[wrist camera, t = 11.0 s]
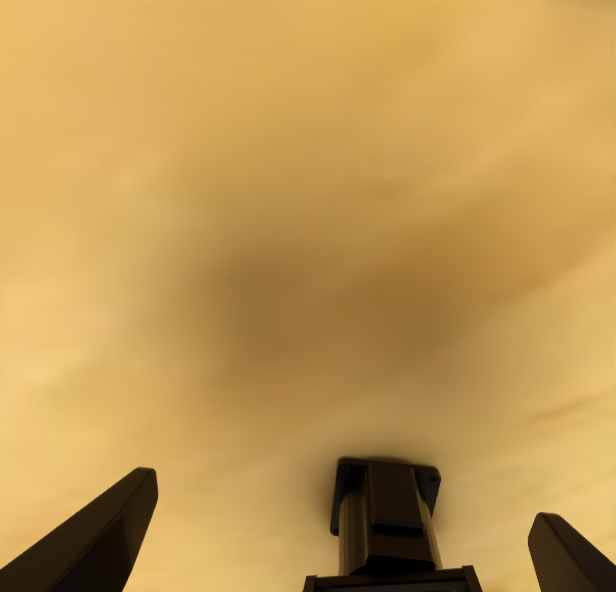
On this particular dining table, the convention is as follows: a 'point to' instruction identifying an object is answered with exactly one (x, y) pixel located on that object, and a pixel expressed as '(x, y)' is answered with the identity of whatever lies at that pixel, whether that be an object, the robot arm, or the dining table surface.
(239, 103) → the dining table surface
